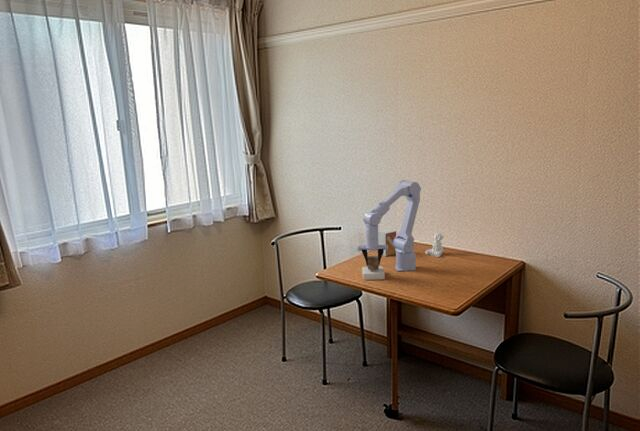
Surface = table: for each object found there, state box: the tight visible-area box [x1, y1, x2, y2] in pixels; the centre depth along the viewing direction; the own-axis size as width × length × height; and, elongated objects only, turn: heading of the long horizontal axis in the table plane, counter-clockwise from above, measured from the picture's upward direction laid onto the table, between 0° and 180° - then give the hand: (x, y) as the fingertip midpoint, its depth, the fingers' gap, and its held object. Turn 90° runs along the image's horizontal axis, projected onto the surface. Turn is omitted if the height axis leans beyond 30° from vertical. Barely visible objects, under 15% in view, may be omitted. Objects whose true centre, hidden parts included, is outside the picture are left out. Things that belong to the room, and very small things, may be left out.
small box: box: [378, 228, 397, 257], centre depth 258 cm, size 8×6×13 cm
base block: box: [361, 265, 386, 281], centre depth 226 cm, size 10×10×3 cm
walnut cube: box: [366, 255, 380, 270], centre depth 225 cm, size 5×5×5 cm
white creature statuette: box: [424, 232, 445, 258], centre depth 253 cm, size 10×9×12 cm
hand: (372, 264), depth 225 cm, fingers closed on walnut cube, 5 cm apart
